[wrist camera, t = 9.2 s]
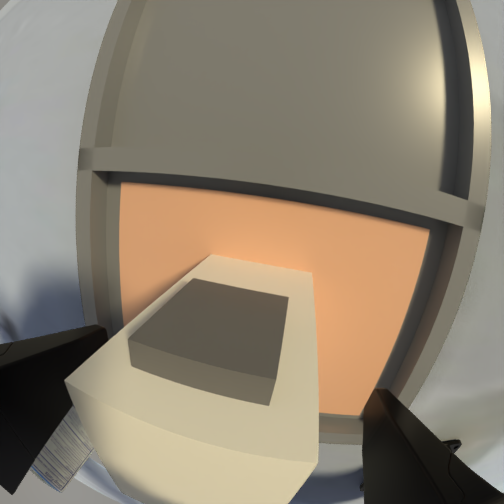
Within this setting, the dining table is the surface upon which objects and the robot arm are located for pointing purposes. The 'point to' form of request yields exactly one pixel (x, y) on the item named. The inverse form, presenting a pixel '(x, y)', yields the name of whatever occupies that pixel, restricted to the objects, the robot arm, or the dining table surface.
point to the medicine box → (63, 453)
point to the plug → (209, 389)
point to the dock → (293, 170)
